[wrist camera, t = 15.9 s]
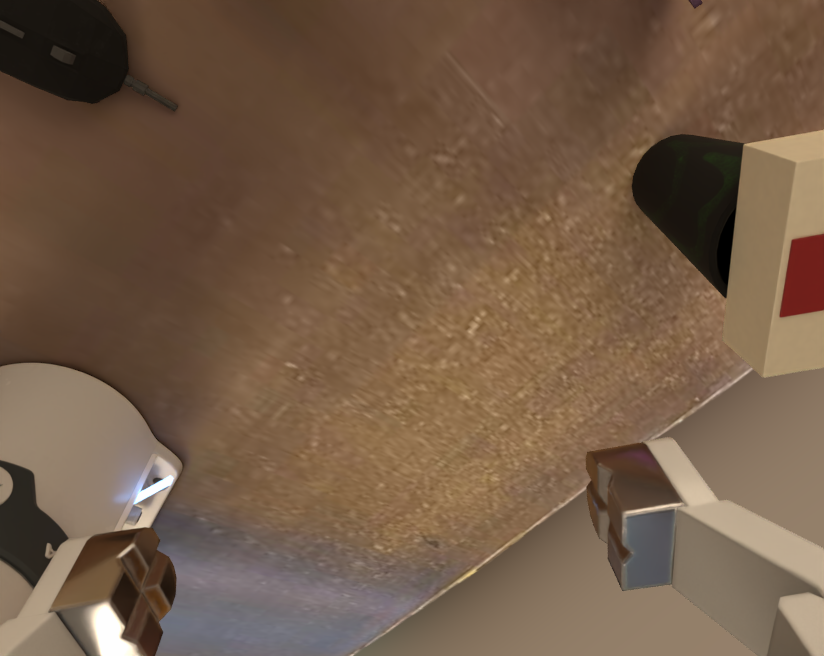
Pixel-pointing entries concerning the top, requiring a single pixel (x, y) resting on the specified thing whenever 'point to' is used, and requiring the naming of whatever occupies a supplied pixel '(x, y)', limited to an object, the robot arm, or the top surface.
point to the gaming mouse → (67, 49)
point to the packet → (778, 257)
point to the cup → (693, 198)
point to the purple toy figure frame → (695, 3)
